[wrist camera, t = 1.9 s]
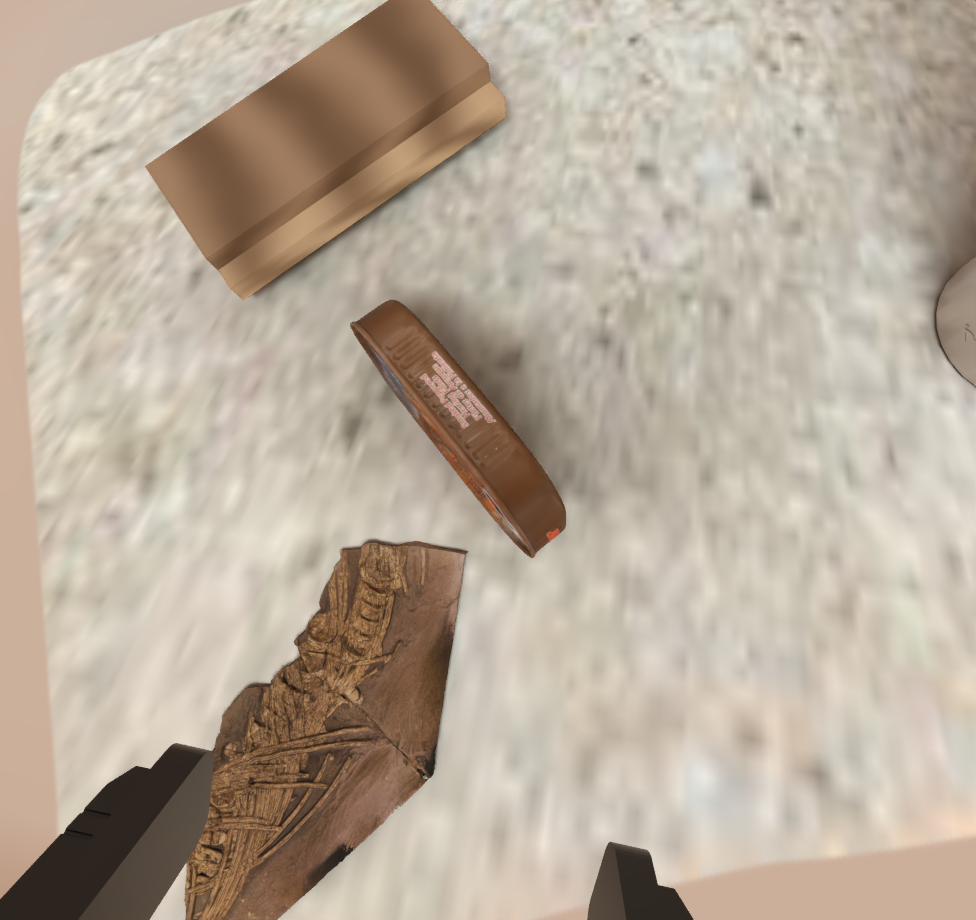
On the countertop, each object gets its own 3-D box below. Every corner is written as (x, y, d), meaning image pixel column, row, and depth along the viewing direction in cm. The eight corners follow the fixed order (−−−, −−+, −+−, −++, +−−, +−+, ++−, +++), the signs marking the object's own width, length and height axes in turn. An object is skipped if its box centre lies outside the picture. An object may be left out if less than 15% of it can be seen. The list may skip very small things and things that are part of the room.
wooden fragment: (384, 493, 33) (379, 490, 32) (543, 605, 31) (543, 606, 30) (101, 894, 31) (85, 905, 30) (252, 1050, 28) (241, 1067, 27)
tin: (374, 367, 35) (319, 300, 27) (415, 335, 35) (373, 259, 27) (529, 565, 31) (522, 558, 23) (574, 529, 32) (582, 510, 23)
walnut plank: (427, 42, 40) (413, -17, 36) (508, 132, 37) (503, 79, 33) (185, 208, 39) (145, 166, 35) (253, 309, 37) (218, 277, 33)
